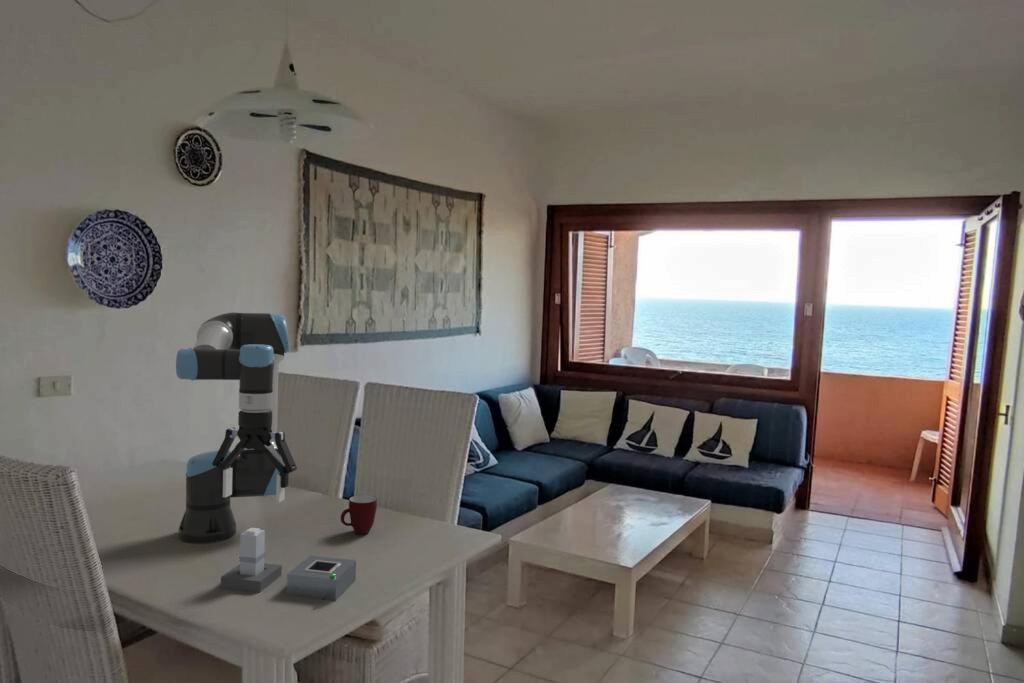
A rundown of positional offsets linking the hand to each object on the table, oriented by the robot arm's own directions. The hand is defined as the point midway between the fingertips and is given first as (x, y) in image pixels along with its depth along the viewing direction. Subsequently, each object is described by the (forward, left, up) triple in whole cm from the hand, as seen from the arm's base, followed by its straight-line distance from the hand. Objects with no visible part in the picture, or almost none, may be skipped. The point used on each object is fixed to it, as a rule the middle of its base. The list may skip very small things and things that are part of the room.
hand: (253, 498), depth 164 cm
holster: (0, 0, -21) cm, 21 cm away
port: (+17, +2, -21) cm, 27 cm away
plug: (0, 0, -20) cm, 20 cm away
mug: (+11, +40, -21) cm, 47 cm away
